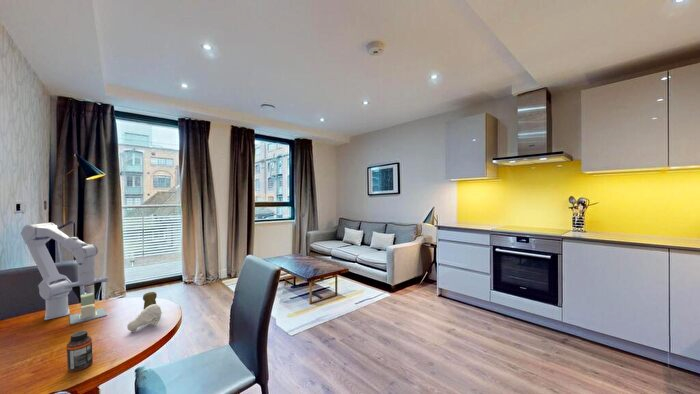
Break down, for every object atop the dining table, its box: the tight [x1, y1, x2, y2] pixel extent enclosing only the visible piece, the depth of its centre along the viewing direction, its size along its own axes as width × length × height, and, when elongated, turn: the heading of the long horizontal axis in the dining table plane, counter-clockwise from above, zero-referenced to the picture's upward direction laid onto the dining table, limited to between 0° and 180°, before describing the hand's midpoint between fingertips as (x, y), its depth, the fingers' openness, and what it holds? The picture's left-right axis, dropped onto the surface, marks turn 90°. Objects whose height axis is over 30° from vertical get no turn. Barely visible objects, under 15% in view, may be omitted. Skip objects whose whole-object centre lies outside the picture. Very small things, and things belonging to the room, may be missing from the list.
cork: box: [142, 291, 157, 311], centre depth 128 cm, size 6×6×11 cm
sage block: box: [80, 292, 96, 307], centre depth 129 cm, size 4×4×4 cm
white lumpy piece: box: [127, 303, 163, 333], centre depth 118 cm, size 6×8×12 cm
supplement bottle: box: [66, 329, 93, 373], centre depth 92 cm, size 6×6×11 cm
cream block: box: [80, 304, 96, 318], centre depth 129 cm, size 4×4×4 cm
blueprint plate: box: [69, 307, 107, 326], centre depth 130 cm, size 12×12×1 cm
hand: (87, 300), depth 129 cm, fingers closed on sage block, 4 cm apart
